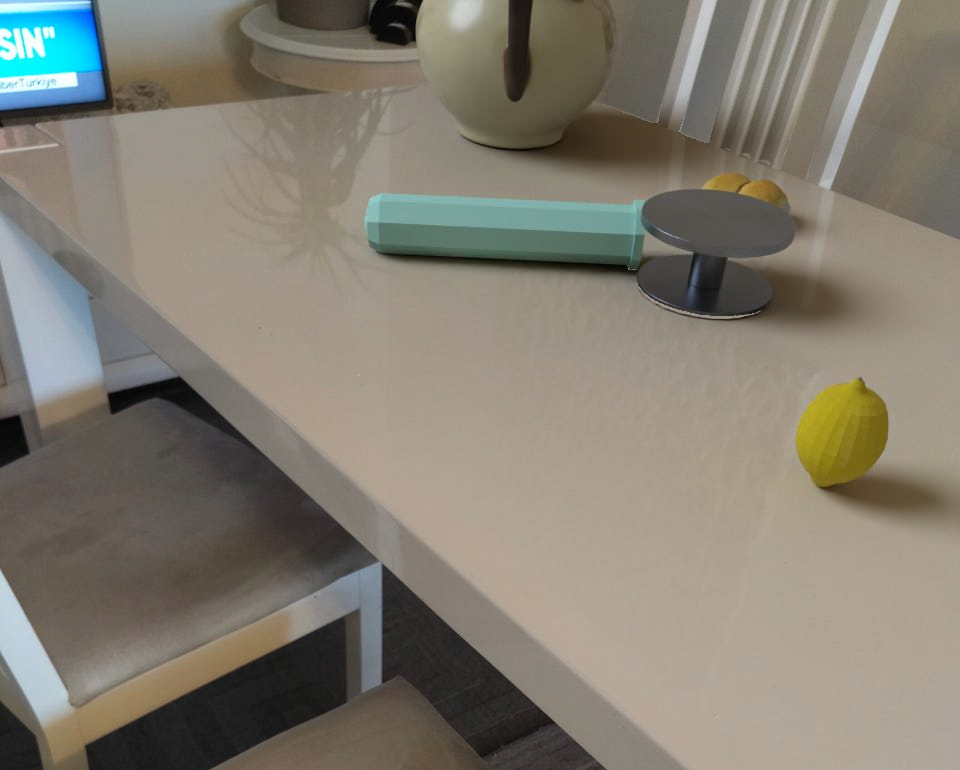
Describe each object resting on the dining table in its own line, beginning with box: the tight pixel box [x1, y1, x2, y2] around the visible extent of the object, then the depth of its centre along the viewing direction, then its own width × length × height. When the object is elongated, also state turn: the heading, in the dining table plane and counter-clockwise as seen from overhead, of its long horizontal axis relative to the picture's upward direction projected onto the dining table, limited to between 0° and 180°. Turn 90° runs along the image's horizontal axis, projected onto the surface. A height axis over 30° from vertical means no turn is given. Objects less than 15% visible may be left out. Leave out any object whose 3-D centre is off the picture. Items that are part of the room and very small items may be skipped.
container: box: [363, 192, 646, 270], centre depth 88 cm, size 6×6×25 cm
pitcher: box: [415, 0, 618, 150], centre depth 106 cm, size 22×24×25 cm
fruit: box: [795, 376, 890, 488], centre depth 63 cm, size 6×6×8 cm
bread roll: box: [700, 172, 791, 215], centre depth 98 cm, size 8×9×4 cm
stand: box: [636, 188, 797, 316], centre depth 85 cm, size 13×13×6 cm
